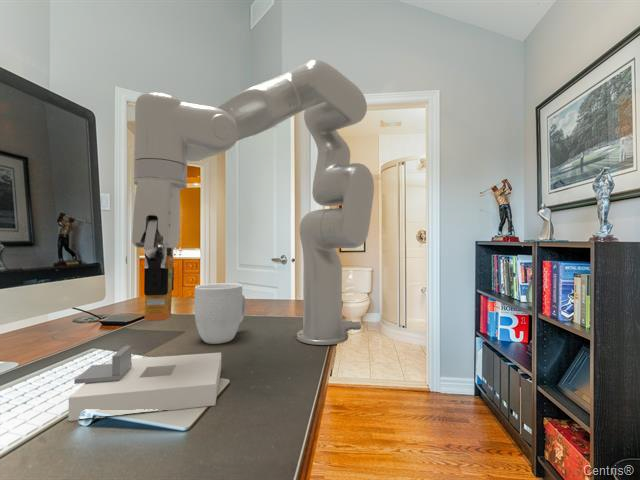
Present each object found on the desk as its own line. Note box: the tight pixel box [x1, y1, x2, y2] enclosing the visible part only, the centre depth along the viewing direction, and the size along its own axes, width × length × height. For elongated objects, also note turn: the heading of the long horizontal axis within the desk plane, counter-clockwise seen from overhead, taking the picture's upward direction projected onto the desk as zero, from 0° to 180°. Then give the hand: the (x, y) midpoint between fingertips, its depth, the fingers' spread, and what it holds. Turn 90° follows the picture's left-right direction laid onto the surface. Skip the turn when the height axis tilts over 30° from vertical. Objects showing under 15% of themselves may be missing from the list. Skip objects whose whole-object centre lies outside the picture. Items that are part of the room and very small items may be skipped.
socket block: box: [67, 352, 222, 422], centre depth 50 cm, size 18×14×3 cm
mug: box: [193, 282, 247, 345], centre depth 79 cm, size 15×11×13 cm
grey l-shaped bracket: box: [73, 345, 132, 385], centre depth 49 cm, size 6×6×3 cm
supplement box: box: [144, 255, 174, 322], centre depth 51 cm, size 3×3×10 cm
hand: (159, 291), depth 51 cm, fingers closed on supplement box, 3 cm apart
